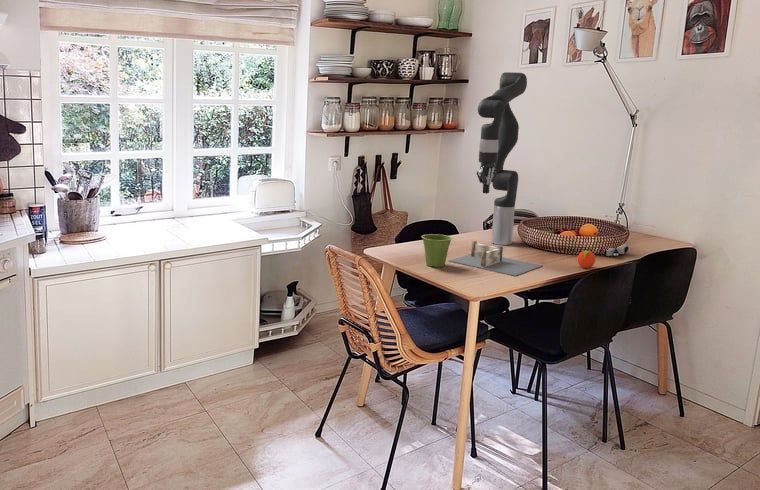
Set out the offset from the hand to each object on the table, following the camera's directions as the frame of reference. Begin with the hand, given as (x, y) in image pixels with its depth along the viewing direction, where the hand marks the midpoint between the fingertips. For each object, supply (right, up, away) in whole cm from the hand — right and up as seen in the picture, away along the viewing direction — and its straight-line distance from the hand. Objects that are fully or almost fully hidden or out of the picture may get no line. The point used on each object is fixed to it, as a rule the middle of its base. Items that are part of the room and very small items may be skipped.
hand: (485, 193), depth 273 cm
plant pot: (-22, -29, -13) cm, 39 cm away
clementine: (+38, -30, -8) cm, 50 cm away
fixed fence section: (0, -27, -1) cm, 27 cm away
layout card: (+3, -29, -7) cm, 30 cm away
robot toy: (+57, -26, +17) cm, 65 cm away
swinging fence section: (+1, -28, -10) cm, 30 cm away
